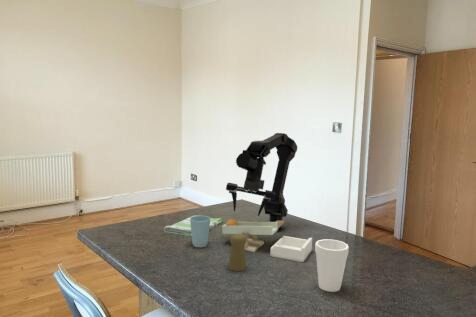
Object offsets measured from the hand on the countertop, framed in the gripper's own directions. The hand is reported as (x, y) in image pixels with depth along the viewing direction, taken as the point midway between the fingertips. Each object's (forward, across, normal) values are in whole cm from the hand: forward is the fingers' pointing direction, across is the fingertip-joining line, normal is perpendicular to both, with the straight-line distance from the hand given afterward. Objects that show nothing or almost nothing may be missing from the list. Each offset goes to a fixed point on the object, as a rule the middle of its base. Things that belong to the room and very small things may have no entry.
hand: (246, 213), depth 145 cm
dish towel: (+11, -21, +22) cm, 33 cm away
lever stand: (+12, +4, +3) cm, 12 cm away
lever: (+5, +4, +5) cm, 8 cm away
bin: (+11, +19, -3) cm, 22 cm away
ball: (+5, -5, +3) cm, 8 cm away
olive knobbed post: (+18, +1, -16) cm, 24 cm away
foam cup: (+17, +29, -27) cm, 43 cm away
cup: (+15, -15, +2) cm, 21 cm away
